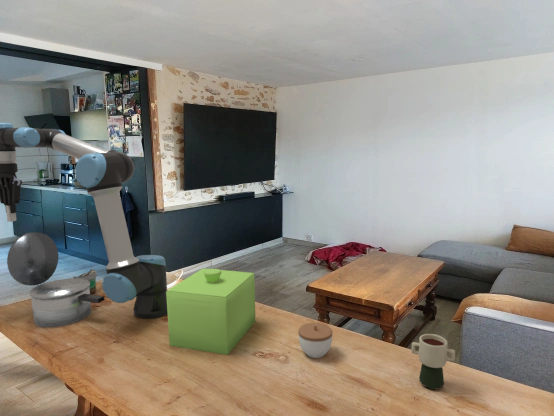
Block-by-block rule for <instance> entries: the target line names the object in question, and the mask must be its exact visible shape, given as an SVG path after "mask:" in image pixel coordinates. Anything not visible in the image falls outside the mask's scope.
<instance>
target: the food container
mask: <svg viewBox="0 0 554 416" xmlns="http://www.w3.org/2000/svg"><path fill="white" fill-rule="evenodd" d="M97 277H98V273H97V271H96V270H95V269H92V268H90V270H89V271H87V272H85V273H82V274H81V275H78V276H73V277H72V278H80V279H86V280H88V281H89V282H90V286H89V290H90V294H91V295H96V293H97V287H96V286H97Z"/></svg>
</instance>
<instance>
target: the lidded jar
mask: <svg viewBox="0 0 554 416" xmlns="http://www.w3.org/2000/svg"><path fill="white" fill-rule="evenodd" d="M297 331H298V334H297V335H298V342H299V343H298V344H299V346H300V348H301V350H302V351H303V353H305V355H306V356H308V357H310V358H312V359H320V358H323V357H324V356H325V355H326V354H327V353H328V352H329V350H330V349H331V346H332V341H333V329H332V328H331V327H330V326H329V325H327V324H325V323H320V322H309V323H304V324H302V325H301V326H300V327H299V328H298V330H297Z"/></svg>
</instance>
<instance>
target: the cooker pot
mask: <svg viewBox="0 0 554 416" xmlns="http://www.w3.org/2000/svg"><path fill="white" fill-rule="evenodd" d="M89 286H90V282H89V281H88V280H86V279H80V278H73V277H72V278H64V279H63V278H62V279H57V280H52V281H49V282H47V281H46V282H44V283H42V284H39V285H35V286H34V287H32V288H31V289H30V290H29V296H30V299H31V307H32V317H33V323H34V325H36V326H37V327H40V328H58V327H63V326H68V325H71V324H75V323H77V322H79V321H80V322H81V321H82V320H84V319H86V318H87V317H89V316H90V315H91V314H92V303H95V304H100V303H102V302H104V301H105V296H104V295H97V294H94V295H91V294H90V290H89Z"/></svg>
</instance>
